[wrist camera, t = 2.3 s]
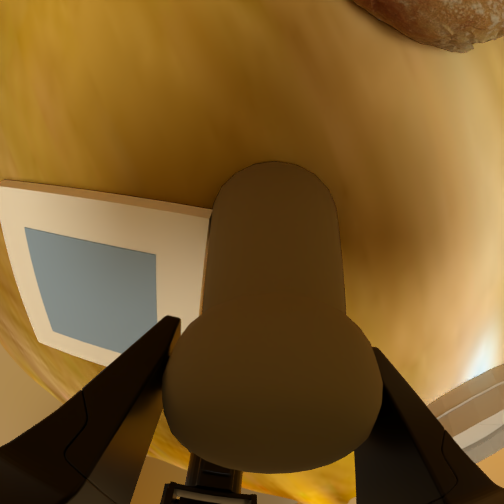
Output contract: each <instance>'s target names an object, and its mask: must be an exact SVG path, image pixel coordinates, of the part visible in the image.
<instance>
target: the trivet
mask: <svg viewBox="0 0 504 504" xmlns="http://www.w3.org/2000/svg"><path fill="white" fill-rule="evenodd" d="M212 212H213V210H212V209H206V208H200V207H195V206H189V205H183V204H177V203H171V202H165V201H158V200H152V199H146V198H139V197H133V196H126V195H120V194H113V193H106V192H99V191H92V190H85V189H77V188H70V187H62V186H54V185H46V184H38V183H30V182H21V181H12V180H3V181H1V182H0V221H1V226H2V230H3V235H4V239H5V243H6V247H7V251H8V255H9V259H10V262H11V266H12V269H13V273H14V276H15V279H16V283H17V286H18V289H19V292H20V295H21V298H22V301H23V303H24V306H25V309H26V312H27V314H28V317H29V320H30V322H31V325H32V327H33V330H34V332H35V334H36V337H37V339H38V341H39V342H40V343H42V344H45V345H47V346H50V347H52V348H55V349H58V350H60V351H63V352H66V353H68V354H71V355H74V356H77V357H79V358H82V359H85V360H88V361H91V362H94V363H97V364H100V365H104V366H108V365H109V364H111V363H112V362H113V361H114V360H115V359H116V358H117V357H119V356H120V355H121V354H122V353H123V352H124V351H125V350H127V349H128V348H129V347H130V346H131V345H132V344H134V343H135V342H136V341H137V340H138V339H139V338H140V337H142V336H143V335H144V334H145V333H146V332H147V331H148V330H150V329H151V328H152V327H153V326H154V325H155V324H156V323H158V322H159V321H160V320H161V319H162V318H163V317H165V316H166V315H170V316H174V317H179V318H180V319H181V335H182V333H183V332H184V331H185V329H186V328H187V327H188V325H189V324H190V323H191V322H192V321H194V320H195V319H196V318H198V317H199V316H200V315H201V311H202V301H203V291H204V282H205V273H206V264H207V255H208V246H209V237H210V228H211V220H212Z"/></svg>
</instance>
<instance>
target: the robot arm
mask: <svg viewBox="0 0 504 504" xmlns="http://www.w3.org/2000/svg"><path fill="white" fill-rule="evenodd" d="M180 336H181V319H180V318H179V317H174V316H170V315H166V316H165V317H163V318H162V319H161V320H160V321H159V322H158V323H156V324H155V325H154V326H153V327H152V328H151V329H150V330H148V331H147V332H146V333H145V334H144V335H143V336H142V337H140V338H139V339H138V340H137V341H136V342H135V343H134V344H132V345H131V346H130V347H129V348H128V349H127V350H125V351H124V352H123V353H122V354H121V355H120V356H119V357H117V358H116V359H115V360H114V361H113V362H112V363H111V364H109V365H108V366H107V367H106V368H105V369H104V370H103V371H101V372H100V373H99V374H98V375H97V376H96V377H95V378H94V379H92V380H91V381H90V382H89V383H88V384H87V385H86V386H84V387H83V388H82V390H80V391H78V392H77V393H76V394H75V395H74V396H73V397H72V398H71V399H69V400H68V401H67V402H66V403H65V404H63V405H62V406H61V407H60V408H59V409H57V410H56V411H55V412H54V413H52V414H50V415H49V416H48V417H46V418H45V419H43V420H42V421H41V422H39V423H38V424H36V425H35V426H33V427H32V428H30V429H29V430H27V431H26V432H24V433H23V434H21V435H20V436H18V437H17V438H15V439H14V440H12V441H10V442H9V443H7V444H5V445H3V446H1V447H0V504H130V502H131V499H132V496H133V493H134V490H135V487H136V484H137V481H138V478H139V475H140V472H141V469H142V466H143V463H144V460H145V457H146V455H147V452H148V449H149V446H150V443H151V440H152V437H153V435H154V432H155V429H156V426H157V423H158V421H159V418H160V415H161V412H162V409H163V402H162V376H163V373H164V370H165V367H166V364H167V361H168V359H169V356H170V354H171V352H172V350H173V348H174V346H175V344H176V342H177V340H178V339H179V337H180ZM372 349H373V352H374V355H375V358H376V361H377V364H378V367H379V371H380V374H381V378H382V382H383V390H382V405H381V408H380V411H379V414H378V417H377V420H376V422H375V424H374V426H373V429H372V431H371V433H370V435H369V437H368V438H367V439H366V440H365V441H364V442H363V443H362V444H361V445H360V446H359V447H358V448H357V449H355V450H354V456H355V474H356V503H357V504H504V488H502V487H500V486H498V485H496V484H495V483H494V482H493V481H491V480H490V479H489V477H488V476H487V475H486V474H485V473H484V472H483V471H482V470H481V469H480V468H479V467H478V466H477V465H476V464H475V463H474V462H473V461H472V460H471V459H470V457H469V456H468V455H467V454H466V453H465V452H464V451H463V450H462V449H461V447H460V446H459V445H458V444H457V443H456V441H455V440H454V439H453V438H452V437H451V435H450V434H449V433H448V432H447V430H444V427H443V425H442V424H441V423H440V422H439V420H438V419H437V418H436V417H435V416H434V414H433V413H432V412H431V411H430V409H429V408H428V407H427V406H426V404H425V403H424V402H423V401H422V400H421V398H420V397H419V396H418V395H417V394H416V392H415V391H414V390H413V389H412V388H411V386H410V385H409V384H408V383H407V382H406V380H405V379H404V378H403V377H402V376H401V374H400V373H399V372H398V371H397V370H396V368H395V367H394V366H393V365H392V364H391V362H390V361H389V360H388V359H387V358H386V357H385V355H384V354H383V353H382V352H381V351H380V350H379V349H378V348H377V347H372ZM189 452H190V453H191V455H190V461H189V466H188V471H187V477H186V482H185V485H181V484H177V483H175V482H171V483H170V484H165V486H164V491H163V495H162V499H161V503H160V504H257V495H256V494H251V495H247V494H241V484H242V474H243V471H239V470H234V469H229V468H225V467H222V466H219V465H216V464H214V463H211V462H208V461H206V460H204V459H202V458H201V457H199V456H197V455H196V454H194V453H192V452H191V451H190V450H189ZM177 496H179V497H180V499H176V497H177Z"/></svg>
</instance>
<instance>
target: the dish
mask: <svg viewBox="0 0 504 504" xmlns="http://www.w3.org/2000/svg"><path fill="white" fill-rule="evenodd" d="M427 407H428V408H429V409H430V411H431V412H432V413H433V414H434V416H435V417H436V418H437V419H438V420H439V422H440V423H441V424H442V425H443V427H444V430H447V432H448V433H449V434H450V435H451V437H452V438H453V439H454V440H455V441H456V443H457V444H458V445H459V446H460V447H461V449H462V450H463V451H464V452H465V453H466V454H467V455H468V456H469V457H470V459H471V460H472V461H473V462H474V463H475V464H476V463H478V462H480V461H481V460H483V459H485V458H487V457H489V456H491V455H492V454H494V453H496V452H497V451H499V450H500V449H502V448H503V447H504V364H502V365H500V366H498V367H495V368H492V369H490V370H488V371H486V372H484V373H483V374H481V375H479V376H477V377H475V378H473V379H471V380H469V381H467V382H465V383H463V384H462V385H460V386H458V387H457V388H455V389H453V390H452V391H450V392H448V393H446V394H445V395H443V396H441V397H440V398H438V399H437V400H435V401H434V402H432V403H431V404H429V405H428V406H427ZM472 448H473V449H472Z"/></svg>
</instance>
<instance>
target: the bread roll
mask: <svg viewBox="0 0 504 504" xmlns="http://www.w3.org/2000/svg"><path fill="white" fill-rule="evenodd" d="M353 1H354V2H355V3H356V4H357V5H358V6H361V7H363V8H364V9H365V10H367V11H368V12H369V13H371V14H372V15H374V16H375V17H376V18H377V19H378V20H379V21H383V22H385V23H387V24H389V25H391V26H392V27H394V28H395V29H397V30H398V31H399V32H401V33H403V34H404V35H406V36H407V37H409V38H411V39H413V40H415V41H417V42H419V43H421V44H427V45H433V46H436V47H439V48H442V49H445V50H448V51H451V52H460V53H465V52H468V51H470V50H472V49H474V48H473V45H472V44H474V43H484V42H487V41H489V40H496V39H497V38H500V37H502V36H504V0H353Z"/></svg>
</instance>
